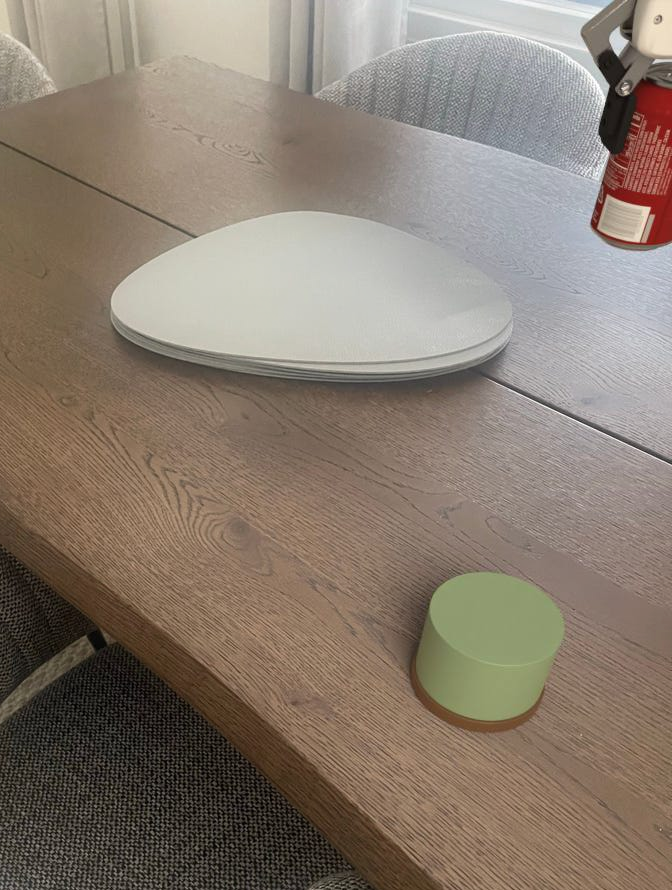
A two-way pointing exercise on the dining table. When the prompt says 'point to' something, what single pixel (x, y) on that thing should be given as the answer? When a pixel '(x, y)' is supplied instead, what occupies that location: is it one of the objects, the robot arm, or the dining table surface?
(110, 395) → the dining table surface
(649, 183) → the soda can
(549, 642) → the pedestal
